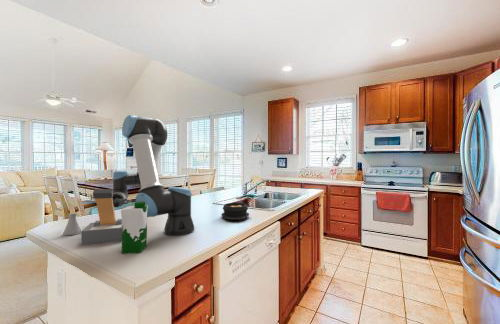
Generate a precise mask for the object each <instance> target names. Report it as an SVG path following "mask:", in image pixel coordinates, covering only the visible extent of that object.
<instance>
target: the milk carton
mask: <svg viewBox="0 0 500 324" xmlns="http://www.w3.org/2000/svg"><path fill="white" fill-rule="evenodd" d="M147 209H148V206H146V205H145V202H143V201H141V202H136V201H135V202H134V205H128V206H126V207H124V208H121V209H120V214H121V219H122V241H121V254H123V255H125V254H141V253H142V252H143V251H144V250H145V249H146V247H147V242H148V241H147V238H148V236H147V235H148V234H147V233H148V217H147Z"/></svg>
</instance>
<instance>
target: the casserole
mask: <svg viewBox="0 0 500 324" xmlns="http://www.w3.org/2000/svg"><path fill="white" fill-rule="evenodd" d="M248 209H249V207H248V205H247V204H246V203H244V202H243V203H242V202H228V203H224V205H223V207H222V210H223V212H222V213H221V214H220V215H221V217H222V218H225V219H226V220H236V221H237V220H245V219H246V218H247V217H249V216H250V213H249V212H247V211H248Z"/></svg>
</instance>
